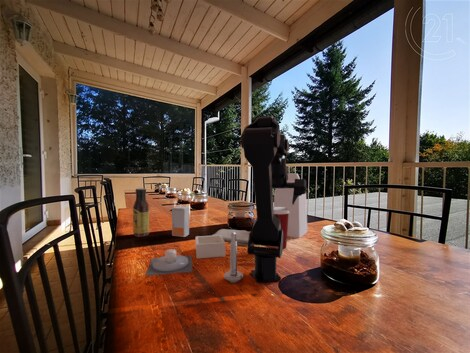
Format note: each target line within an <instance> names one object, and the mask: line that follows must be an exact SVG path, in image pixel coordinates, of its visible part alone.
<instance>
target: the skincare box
mask: <svg viewBox="0 0 470 353" xmlns="http://www.w3.org/2000/svg"><path fill="white" fill-rule="evenodd" d="M171 235H172V237H181V238H185V237H188V235H190V206H173V207H171Z"/></svg>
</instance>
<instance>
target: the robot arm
mask: <svg viewBox="0 0 470 353" xmlns="http://www.w3.org/2000/svg"><path fill="white" fill-rule="evenodd" d="M280 129H281V127H280V124H278V123H277V118H276V116H275V117H274V116H273V115H272V116H271V115H270V116H258V117H256V118H255V120H254V121H252V123H250V124H248V125H247V126H245V127H244V129H243V131H242V132H241V135H240V147H241V149H243V155H244V158H245V160H246V161H247V162H248V163H249V165H250V166H251V167H252V174H253V176H252V178H253V183H252V184H253V185H252V192H253V193H254V198H255V209H256V210H255V211H256V218H255V220H254V223H253V226H252V227H251V229H250V231H249V232H250V233H249V240H248V246H247V254H248V255H249V256H250V255H253V256H254V269H251V270H250V274H251V275H252V277H253V278H254V280H255V282H256V283H267V282H269V283H270V282H278V281H279V282H280V281H281V280H282V277H281V276H280V275H279V274H278V272H277V262H278V261H277V259H281V257H282V254H283V250H284V249H283V230H281V224H280V217H279V216H278V215H275V214H274V195H273V194H274V193H273V192H274V191H273V189H275V190H276V189H281V188H294V192H293V199H292V205H294V203H295V200H296V199H297V198H298V196H301V195H302V194H305V193H306V194H307V180H306V179H305V178H300V179H295V182H287V180H288V166H287V159H288V154H289V151H290V143H289V140H288V138H287V137H286V135H285V134H284V133H281V130H280ZM271 247H278V249H276V248H271Z"/></svg>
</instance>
